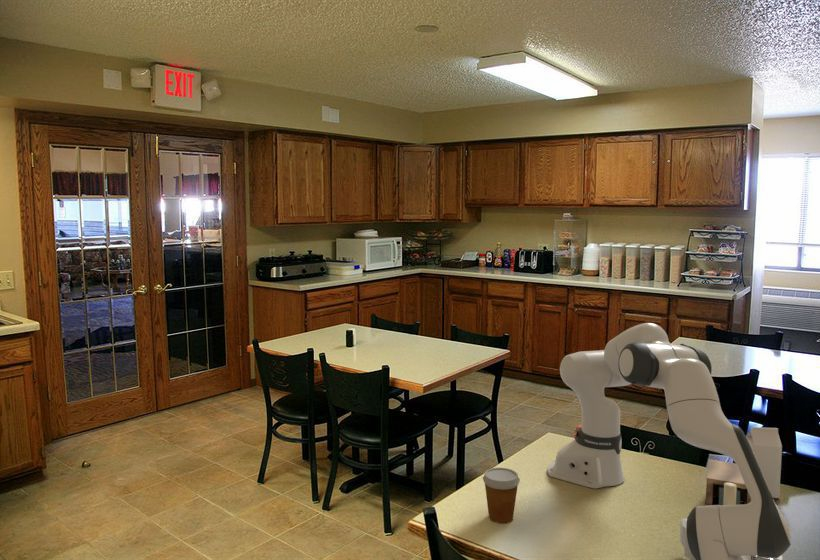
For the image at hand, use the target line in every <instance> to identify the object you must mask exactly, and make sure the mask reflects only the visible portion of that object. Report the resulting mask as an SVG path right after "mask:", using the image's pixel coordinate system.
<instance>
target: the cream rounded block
mask: <svg viewBox="0 0 820 560" xmlns="http://www.w3.org/2000/svg"><path fill="white" fill-rule="evenodd" d="M740 504H741V502H740V488H737V486H736V485H735V484H733V483H724V485H719V498H718V505H740Z"/></svg>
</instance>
